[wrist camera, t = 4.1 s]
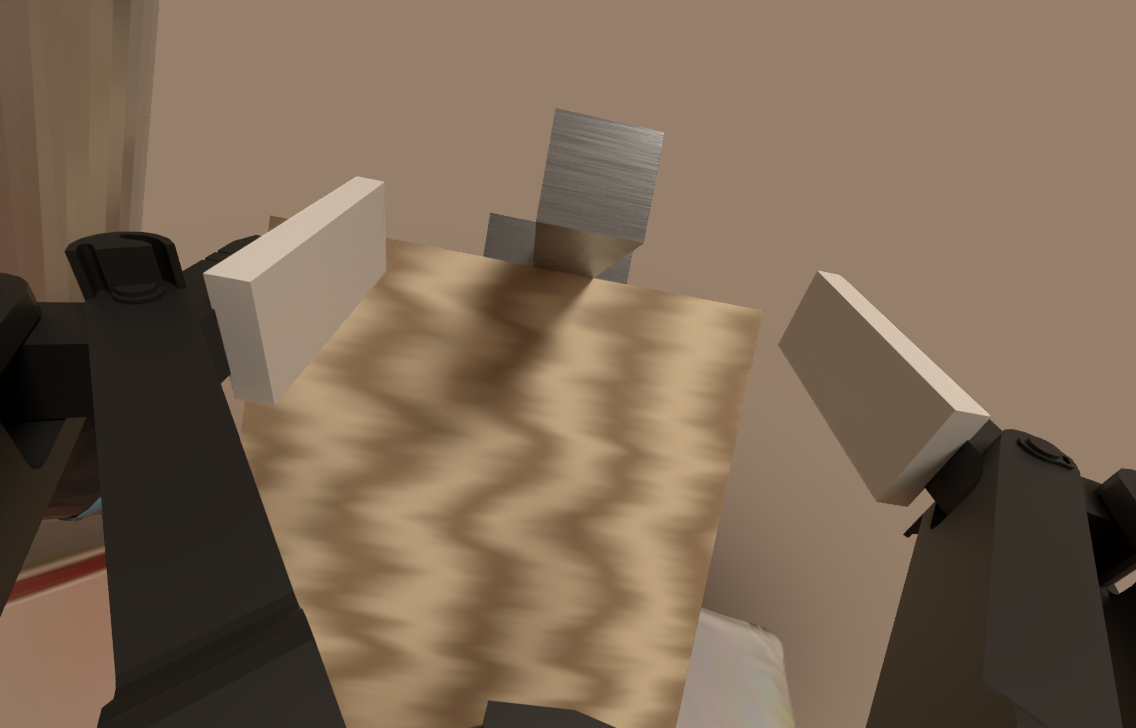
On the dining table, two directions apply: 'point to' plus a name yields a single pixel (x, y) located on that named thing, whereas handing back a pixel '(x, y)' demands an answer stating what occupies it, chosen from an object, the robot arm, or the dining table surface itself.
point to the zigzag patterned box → (505, 489)
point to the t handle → (585, 201)
